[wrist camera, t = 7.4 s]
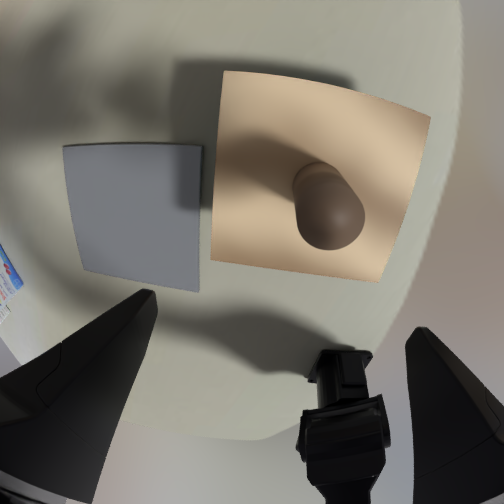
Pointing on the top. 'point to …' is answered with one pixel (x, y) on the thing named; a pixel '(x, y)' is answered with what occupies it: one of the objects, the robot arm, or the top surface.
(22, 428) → the robot arm
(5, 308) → the supplement box
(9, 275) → the medicine box
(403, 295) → the top surface
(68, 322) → the top surface
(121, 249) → the mat
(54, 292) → the top surface
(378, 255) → the lid
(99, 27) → the top surface
